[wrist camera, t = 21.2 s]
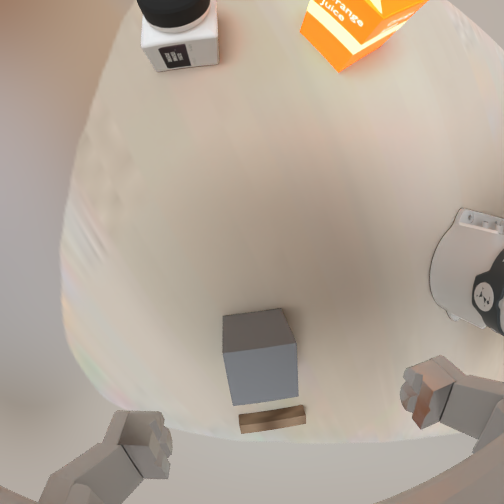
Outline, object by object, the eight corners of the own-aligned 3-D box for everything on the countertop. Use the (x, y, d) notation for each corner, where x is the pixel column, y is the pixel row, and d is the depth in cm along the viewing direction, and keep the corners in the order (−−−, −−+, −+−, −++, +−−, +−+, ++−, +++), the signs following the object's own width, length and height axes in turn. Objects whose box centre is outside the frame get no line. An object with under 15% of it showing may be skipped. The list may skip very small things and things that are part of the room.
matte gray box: (281, 308, 37) (296, 342, 28) (284, 356, 38) (298, 396, 30) (222, 316, 36) (222, 353, 28) (230, 363, 38) (233, 405, 29)
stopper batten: (302, 404, 41) (305, 415, 38) (302, 413, 41) (305, 423, 39) (238, 414, 40) (239, 425, 38) (240, 422, 41) (241, 433, 38)
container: (219, 65, 30) (217, 8, 17) (155, 73, 29) (123, 23, 16) (216, 17, 28) (215, -46, 15) (157, 25, 27) (132, -33, 15)
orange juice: (380, 47, 30) (458, -25, 10) (338, 73, 31) (411, -11, 11) (342, 9, 28) (394, -79, 9) (297, 32, 29) (333, -71, 10)
